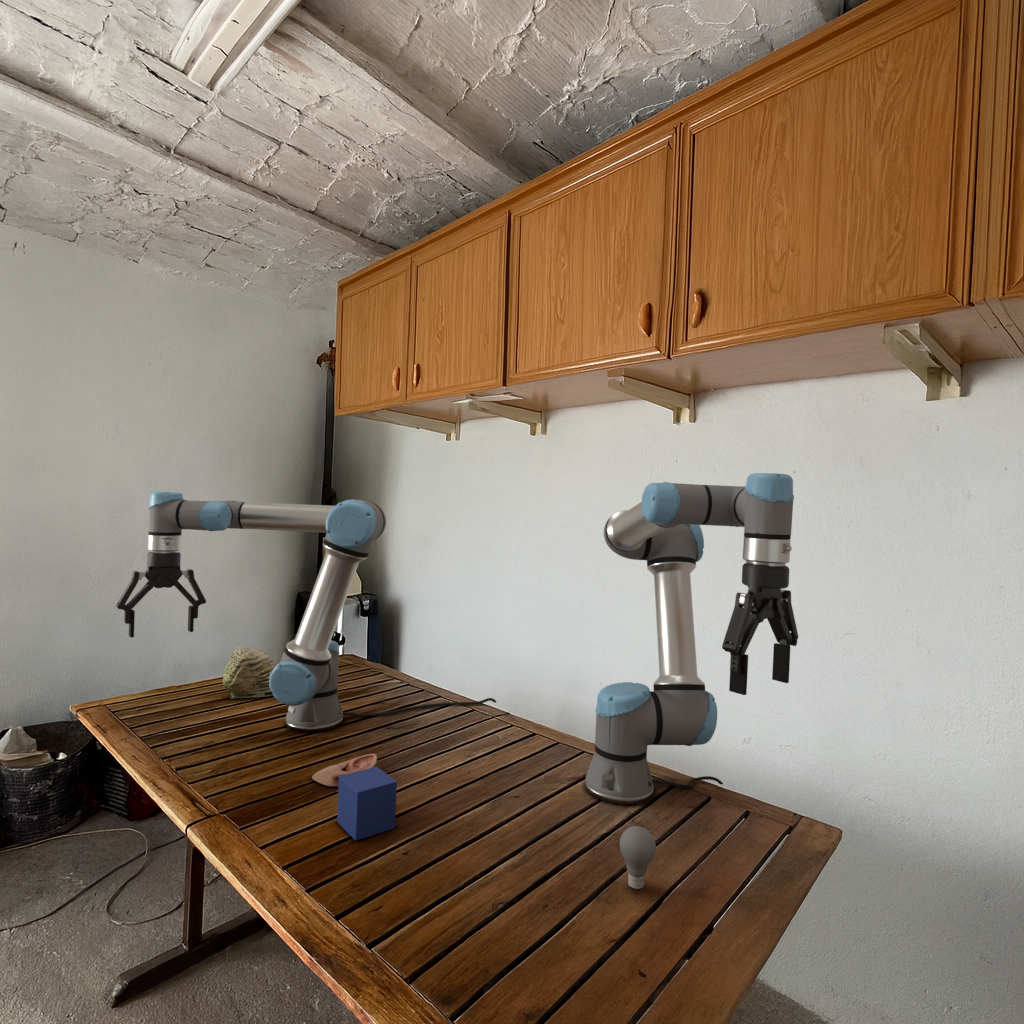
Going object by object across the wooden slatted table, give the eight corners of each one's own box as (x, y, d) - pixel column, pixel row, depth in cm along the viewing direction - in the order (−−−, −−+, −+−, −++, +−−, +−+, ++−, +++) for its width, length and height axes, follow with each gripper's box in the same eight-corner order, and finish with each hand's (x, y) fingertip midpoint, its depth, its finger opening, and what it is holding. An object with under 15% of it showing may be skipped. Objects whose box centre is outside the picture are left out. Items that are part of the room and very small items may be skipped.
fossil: (218, 695, 195) (220, 647, 195) (278, 685, 208) (279, 640, 207) (228, 703, 189) (230, 653, 188) (289, 692, 201) (290, 645, 201)
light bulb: (613, 876, 109) (616, 819, 109) (647, 876, 110) (650, 819, 110) (622, 898, 103) (625, 837, 103) (658, 897, 104) (661, 837, 104)
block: (336, 822, 124) (338, 776, 124) (375, 810, 129) (376, 766, 129) (355, 841, 117) (357, 792, 117) (395, 827, 123) (397, 781, 122)
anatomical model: (305, 765, 139) (330, 745, 150) (304, 783, 139) (330, 762, 151) (361, 773, 137) (383, 752, 148) (360, 791, 137) (382, 769, 148)
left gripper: (109, 553, 152) (106, 641, 153) (220, 552, 168) (217, 631, 168) (105, 551, 158) (102, 635, 158) (212, 549, 174) (209, 626, 174)
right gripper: (745, 567, 98) (739, 704, 98) (822, 563, 113) (816, 681, 114) (703, 563, 104) (697, 692, 104) (782, 559, 119) (776, 672, 120)
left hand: (161, 633), depth 163 cm, fingers open, 13 cm apart
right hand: (759, 686), depth 109 cm, fingers open, 13 cm apart
